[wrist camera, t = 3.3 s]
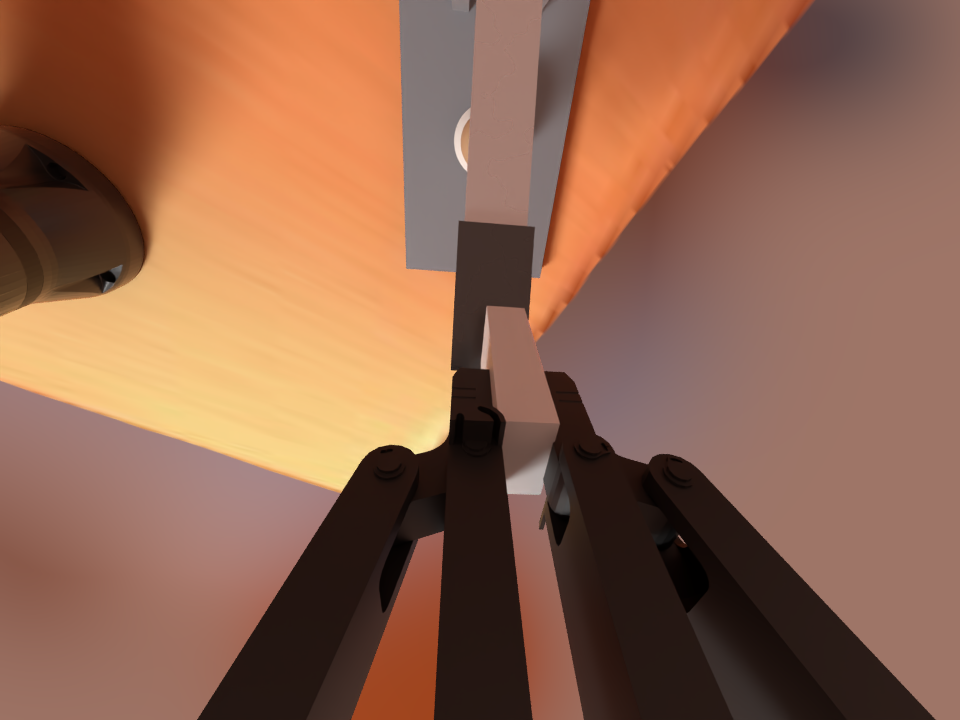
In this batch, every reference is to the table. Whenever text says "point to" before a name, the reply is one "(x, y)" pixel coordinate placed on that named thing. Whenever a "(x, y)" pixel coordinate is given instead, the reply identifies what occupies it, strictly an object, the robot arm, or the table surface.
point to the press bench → (446, 103)
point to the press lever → (497, 173)
